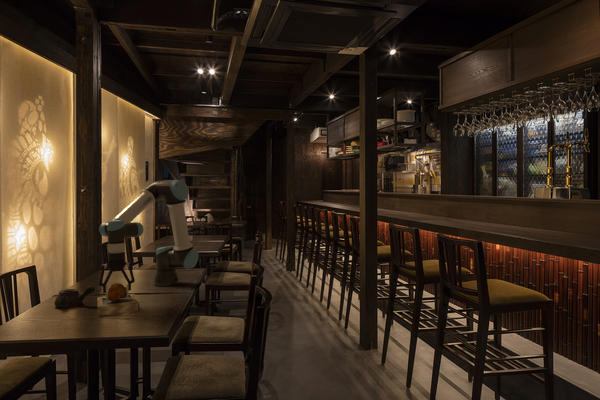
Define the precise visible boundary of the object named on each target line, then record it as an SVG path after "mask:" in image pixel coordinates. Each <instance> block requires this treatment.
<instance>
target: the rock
mask: <svg viewBox="0 0 600 400" xmlns="http://www.w3.org/2000/svg"><path fill="white" fill-rule="evenodd" d="M126 295H127V291H126V286H124V284H122V283H118V282H117V283H112V284H111V285H110V287H109V288H108V300H109V301H114V300H119V299H120V298H125V297H126Z"/></svg>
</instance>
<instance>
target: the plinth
mask: <svg viewBox="0 0 600 400" xmlns="http://www.w3.org/2000/svg"><path fill="white" fill-rule="evenodd" d="M138 311H139V301H138V299H137V297H136V294H135V293H129V298H127V295H126V297H125V298H120V299H119V300H114V301H109V300H106V296H98V297H97V316H98V317H100V316H107V315H115V314H125V313H131V312H138Z"/></svg>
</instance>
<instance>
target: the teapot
mask: <svg viewBox="0 0 600 400" xmlns="http://www.w3.org/2000/svg"><path fill="white" fill-rule="evenodd" d="M58 292H59V293H58V295H57V297H56V298H55V300H54V307H58V308H62V309H63V308H64V309H65V308H67V309H68V308H72V307H77V306H79V305H81V304H83V302H84V300H85V298H86V296H90V295H91V294H93V293H94V292H95V286H94V285H88V286H87V287H86V288H85V289H84V291H83V293H80V292H79V289H77V288H66V289H61V290H59V291H58Z"/></svg>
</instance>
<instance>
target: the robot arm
mask: <svg viewBox="0 0 600 400" xmlns="http://www.w3.org/2000/svg"><path fill="white" fill-rule="evenodd" d="M188 196H189V187H188V185H187V183H185V182H184V181H183V180H181V179H180V180H179V179H165V180H164V179H163V180H160V179H159V180H156V181H154V182H151V183H150V184H148V185H147V186H146V187H145V188H143V189H142V190H141V191H140V193H139V195H138V196H137V197H136V198H135V199H133V200H132V201H131V202H130V203H129V204H128V205H127V206H126V207H125V208H124V209H122V210H121V211H120V212H119V213H118V214H117V215H116V216H114V217H113V218H112V219H111V220H108V221H105V222H102V223H101V224H100V226H99V228H98V231H99V234H100V235H101V236H102V237H105V238H107V251H108V253H107V263H105V264H101V265H100V267H101V273H100V277H99V281H98V286H100V287H102V293H103V294H105V297H106V300H108V290H109V288H108V285H107V284H108V283H109V280H110V278H111V276H112V274H113V272H121V273H122V274H123V277H124V278H125V280H126V281H127V283H125V284H126V286H125V287H126V291H127V298H129V294H130V292H131V290H132V284H133V283H135V281H136V280H135V277H134V271H133V263H132V262H127V261H126V252H125V250H126V239H131V238H133V239H134V238H137V237H140V236H142V235H143V234H144V229H145V228H144V226H143V225H144V224H142V223H141V222H138V221H137V222H136V221H135V222H133V221H134V220H135V219H136V218H137V217H138V216H139V215H141V213H143V211H144V210H145V209H147V208H148V207H149V206H150V205H153V204H155V202H158V201H164V203H165V206H167V207H168V211H169V218H170V223H171V228H172V236H173V240H174V245H170V246H162V247H157V249H156V250H155V251H156V253H155V265H156V266H155V270H156V271H155V272H156V273H155V275H154V279H153V286H155V287H172V286H176V285H179V284H180V278H179V275H178V272H177V268H178V269H185V270H186V269H193V268H195V266H197V263H198V261H199V254H200V253H199V250H198V249H196V248H194V244H192V242H190V241H191V240H190V236H189V229H188V222H187V219H186V218H187V217H186V211H185V206H184V205H185V203H186V200H187V199H188ZM107 267H108V269H109V271H108V273H107V275H106V278H105V279H104V275H105V270H106V269H107ZM125 267H128V270H129V274H130V275H129V276H130V278H129V276H128V275H127V272H126V271H125V269H124V268H125ZM103 280H104V282H103ZM129 291H130V292H129Z"/></svg>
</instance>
